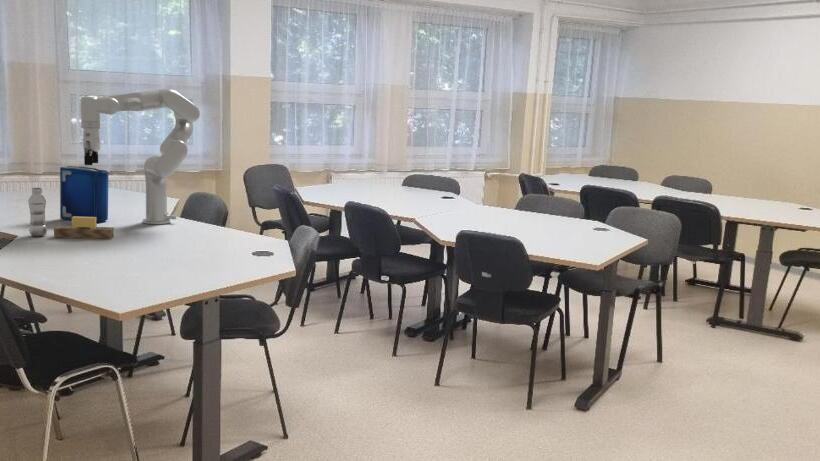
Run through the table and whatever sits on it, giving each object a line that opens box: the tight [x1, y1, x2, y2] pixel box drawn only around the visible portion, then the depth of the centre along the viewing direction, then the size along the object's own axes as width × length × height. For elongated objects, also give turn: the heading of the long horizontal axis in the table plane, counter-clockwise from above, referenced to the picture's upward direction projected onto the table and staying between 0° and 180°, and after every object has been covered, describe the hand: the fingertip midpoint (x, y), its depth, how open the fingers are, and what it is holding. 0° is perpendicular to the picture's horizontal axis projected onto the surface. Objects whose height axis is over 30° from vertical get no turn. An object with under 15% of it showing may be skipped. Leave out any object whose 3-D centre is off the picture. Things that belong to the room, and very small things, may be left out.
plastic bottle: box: [27, 187, 48, 237], centre depth 297 cm, size 6×7×20 cm
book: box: [59, 165, 109, 223], centre depth 336 cm, size 22×7×25 cm, turn 84°
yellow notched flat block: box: [71, 216, 98, 229], centre depth 301 cm, size 9×2×8 cm, turn 99°
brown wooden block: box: [53, 225, 115, 240], centre depth 301 cm, size 22×6×4 cm, turn 99°
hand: (91, 164), depth 320 cm, fingers open, 9 cm apart
